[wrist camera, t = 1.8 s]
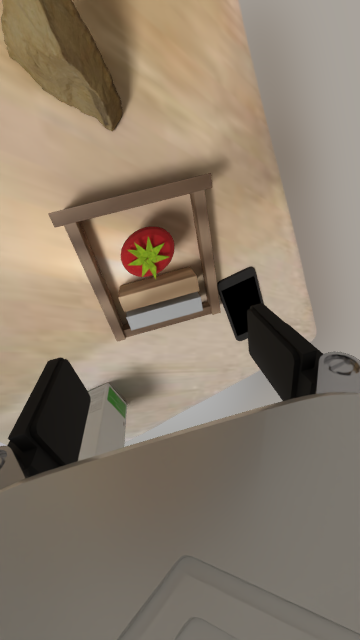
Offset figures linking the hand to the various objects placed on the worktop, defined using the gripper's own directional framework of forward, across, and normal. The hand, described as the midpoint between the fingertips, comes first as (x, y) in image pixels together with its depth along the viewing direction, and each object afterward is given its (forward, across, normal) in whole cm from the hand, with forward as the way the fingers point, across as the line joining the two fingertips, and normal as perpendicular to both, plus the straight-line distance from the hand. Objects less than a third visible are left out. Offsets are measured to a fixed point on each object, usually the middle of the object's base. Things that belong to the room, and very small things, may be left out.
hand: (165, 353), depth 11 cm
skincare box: (+27, +17, +29) cm, 43 cm away
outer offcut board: (+27, 0, +10) cm, 28 cm away
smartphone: (+27, -16, +16) cm, 35 cm away
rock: (+27, +3, -18) cm, 32 cm away
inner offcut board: (+27, 0, +6) cm, 27 cm away
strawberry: (+27, 0, 0) cm, 27 cm away
